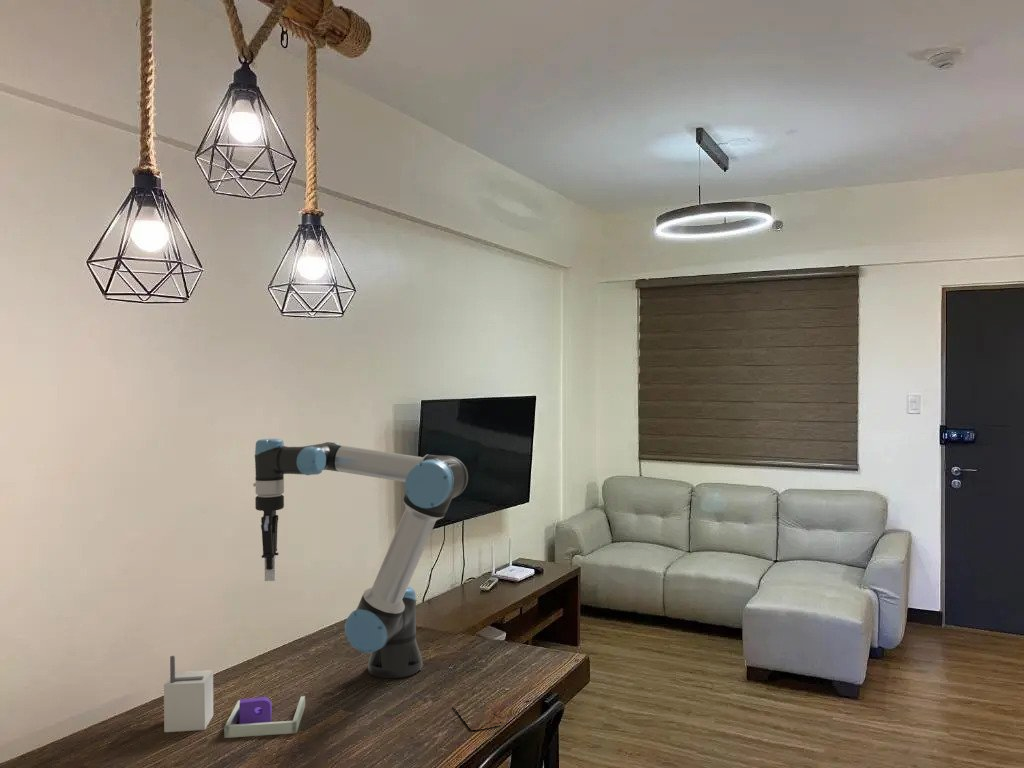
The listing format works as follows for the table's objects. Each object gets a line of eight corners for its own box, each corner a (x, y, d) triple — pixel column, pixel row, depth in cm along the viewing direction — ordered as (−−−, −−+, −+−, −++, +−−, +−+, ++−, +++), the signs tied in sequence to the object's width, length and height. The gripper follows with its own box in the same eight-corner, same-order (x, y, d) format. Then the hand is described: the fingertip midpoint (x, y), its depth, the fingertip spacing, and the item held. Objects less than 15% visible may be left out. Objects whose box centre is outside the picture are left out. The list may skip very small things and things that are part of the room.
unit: (213, 714, 187) (213, 644, 187) (204, 729, 179) (204, 656, 179) (175, 716, 186) (174, 646, 186) (164, 732, 178) (163, 659, 178)
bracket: (270, 728, 180) (270, 699, 180) (239, 732, 178) (239, 703, 178) (271, 708, 192) (271, 680, 192) (242, 711, 190) (242, 683, 190)
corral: (305, 706, 192) (305, 696, 192) (296, 733, 177) (296, 722, 177) (238, 710, 190) (238, 700, 190) (224, 737, 175) (224, 726, 175)
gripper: (260, 492, 218) (260, 575, 218) (250, 498, 205) (251, 587, 205) (287, 491, 219) (287, 574, 219) (279, 498, 206) (280, 585, 206)
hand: (270, 580), depth 212 cm, fingers closed
